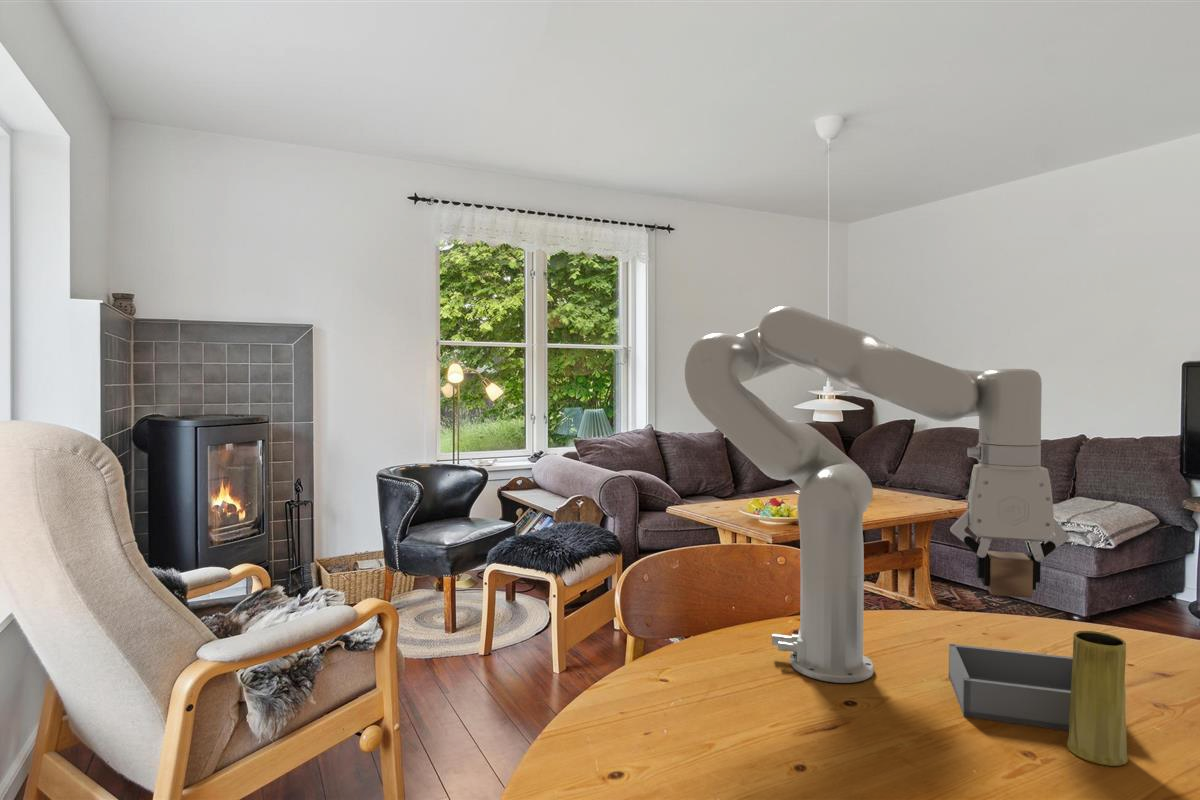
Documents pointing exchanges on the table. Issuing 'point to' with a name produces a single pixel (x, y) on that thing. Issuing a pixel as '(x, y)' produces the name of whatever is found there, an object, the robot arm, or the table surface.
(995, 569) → the walnut cube
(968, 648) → the tote
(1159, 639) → the table surface
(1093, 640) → the vase
